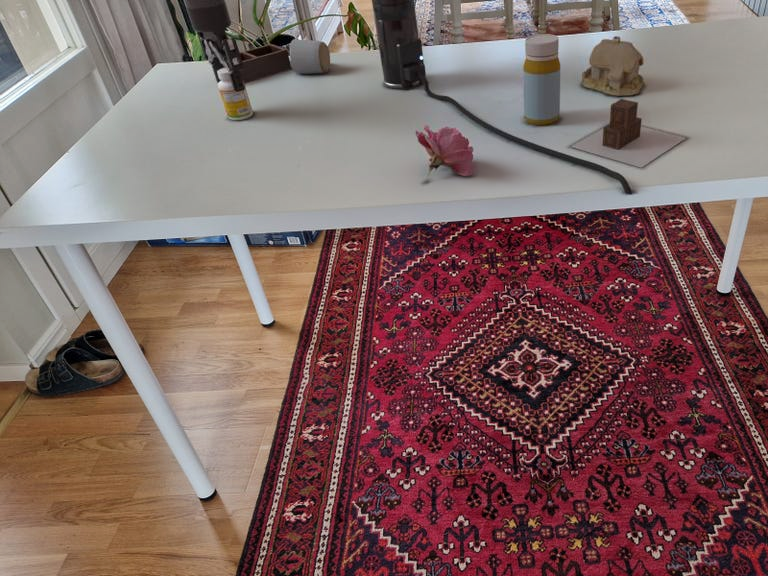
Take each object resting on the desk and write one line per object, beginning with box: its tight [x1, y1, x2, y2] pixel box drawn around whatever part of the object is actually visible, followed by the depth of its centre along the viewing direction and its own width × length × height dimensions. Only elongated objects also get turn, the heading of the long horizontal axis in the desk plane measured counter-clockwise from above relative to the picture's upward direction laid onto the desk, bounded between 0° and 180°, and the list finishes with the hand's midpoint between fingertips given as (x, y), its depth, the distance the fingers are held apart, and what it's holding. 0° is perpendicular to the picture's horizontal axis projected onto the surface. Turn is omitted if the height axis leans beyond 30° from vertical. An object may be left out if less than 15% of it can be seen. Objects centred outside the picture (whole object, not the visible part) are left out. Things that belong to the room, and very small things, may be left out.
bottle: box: [522, 33, 561, 126], centre depth 123 cm, size 7×7×15 cm
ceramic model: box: [581, 35, 645, 97], centre depth 136 cm, size 14×11×10 cm
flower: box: [414, 124, 474, 183], centre depth 111 cm, size 11×10×10 cm
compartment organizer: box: [220, 43, 293, 84], centre depth 161 cm, size 9×16×5 cm, turn 132°
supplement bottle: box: [217, 68, 254, 121], centre depth 137 cm, size 5×5×10 cm
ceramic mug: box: [289, 38, 331, 75], centre depth 159 cm, size 11×8×8 cm
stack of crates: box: [570, 98, 687, 168], centre depth 115 cm, size 15×15×7 cm
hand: (231, 86), depth 136 cm, fingers open, 8 cm apart
